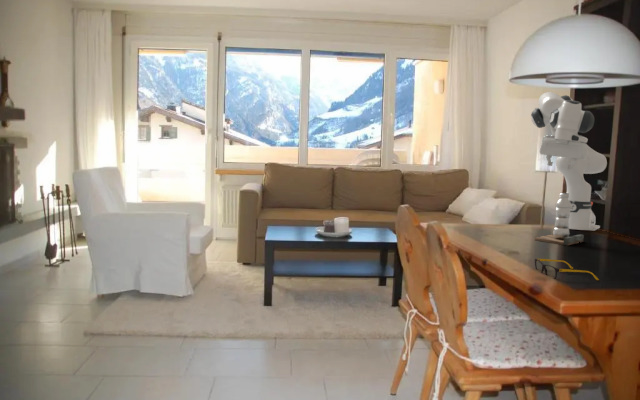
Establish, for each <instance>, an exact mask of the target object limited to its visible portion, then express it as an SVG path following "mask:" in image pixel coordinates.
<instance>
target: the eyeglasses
mask: <svg viewBox="0 0 640 400" xmlns="http://www.w3.org/2000/svg"><path fill="white" fill-rule="evenodd" d="M537 262H539V263H540V264H541V271H540V273H543V272H544V273H545V276H548V269H547V266H548V267H551V268H552V269H554V271H555V273H554V274H555V276H554V279H557V275H558V273H560V272H561V273H566V272H568V273H572V272H573V273H588V274H590V275H592V276H593V278H594V279H595V280H596V281H600V279H599V278H598V276H597V275H595V274H594V273H593V272H591V271H589V270H581V269H574V267H573V266H572V265H571V264H570V263H568V262H567V261H565V260H562V259H561V260H559V259H549V258H534V267H535V270H538V268H537ZM543 262H554V263H555V262H556V263H557V262H558V263H561V262H562V263H565V264H566V265H567V266H568V267H569V268H570V269H569V268H568V269H567V268H557V267H554V266H552V265H550V264H544V263H543Z"/></svg>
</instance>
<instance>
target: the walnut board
mask: <svg viewBox="0 0 640 400" xmlns="http://www.w3.org/2000/svg"><path fill="white" fill-rule="evenodd" d="M584 237H585V235H584V234H581V233H580V234H576V235H569V237H565V238H564V239H558V238H555V237H554V236H553V234H547V235H542V236H538V237H534V241H539V242H544V243H550V244H557V245H563V246H570V245H575V244H579V242H580V243H583V242H584Z"/></svg>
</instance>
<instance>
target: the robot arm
mask: <svg viewBox="0 0 640 400" xmlns="http://www.w3.org/2000/svg"><path fill="white" fill-rule="evenodd" d="M537 102H538V107H535V108H534V110H533V111H532V112H531V114H530V116H531V117H530V119H531V122H532V123H533V125H534V126H536V127H537V128H539V129H542V128H545V127H546V126H549V125H550V130H551V131H550V132H551V135H550V134H546V135H544V136H543V137H542V139H541V145H540V148H539V154H540V155H544V156H546V157H545V158H546V160H547V164H546V165H547V166H548V167H549V166H550V167H552V166H553V161H552V159H551V158H552V156H553V157H557V158H556V160H555V166H556V169H557V170H558V171H560V173H561V174H562V176H563V177H564V180H565V184H566V193H569V198H568V199H569V201H570V203H571V211H570V216H569V230H579V231H591V232H592V231H593V232H594V231H597V230H599V229H600V228H601V225H597V224H596V215H595V213H594V211H593V210H592V206H593V204H594V202H593V201H591V195H592V185H591V184H590V183H588V182H587V181H586V180H585V178H584V174H585V175H588V174H589V175H592V174H593V175H594V174H598V173H602V172H604V171H605V170H606V168H607V165H608V162H607V158H606V156H605V154H602V153H600V152H597V151H596V150H594V149H593V148H591V147H590V146H589V145H588V144H587V143H588V140H589V139H588V138H587V137H585V136H583V135H581V134H586V133H588V132H589V131H590V130H591V129H593V127H594V124H595V116H594V114H593V113H592V112H591V111H590V110H583V109H582V103H581V102H580V101H578V100H573V99H572V97H570V96H569V95H567V94H566V95H562V96H560V95H559V94H558V93H557V92H556V93H555V92H553V91H547V92H543V93H542V94H541V95H540V96H539V99H538V101H537ZM578 133H581V134H578Z"/></svg>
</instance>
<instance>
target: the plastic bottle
mask: <svg viewBox="0 0 640 400" xmlns="http://www.w3.org/2000/svg"><path fill="white" fill-rule="evenodd" d="M558 196H559V197H558V200H557V201H556V203H555V204H554V205H555V222H554V228H553V231H552V233H553V234H552V235H553V236H554V237H555V238H558V239H564V238H565V237H570V229H569V216H570V211H571V203H570V201H569V199H568V198H569V193H567V192H560V193H559V195H558Z"/></svg>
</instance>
